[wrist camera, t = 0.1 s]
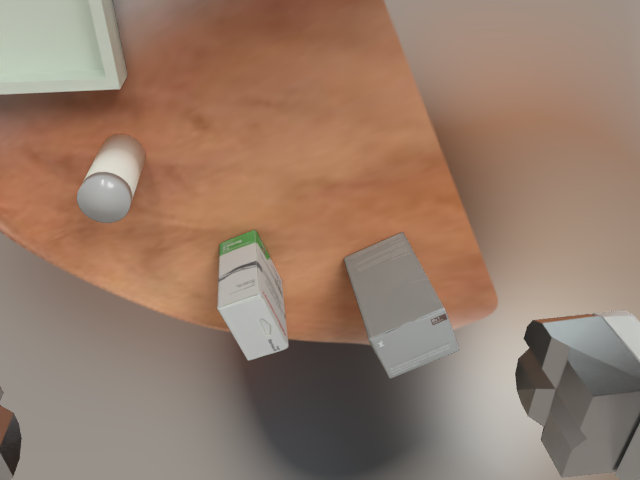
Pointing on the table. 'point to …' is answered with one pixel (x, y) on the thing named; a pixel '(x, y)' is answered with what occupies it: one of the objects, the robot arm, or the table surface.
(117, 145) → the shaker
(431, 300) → the skincare box
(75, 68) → the sage tray
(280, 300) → the ink box
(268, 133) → the table surface
